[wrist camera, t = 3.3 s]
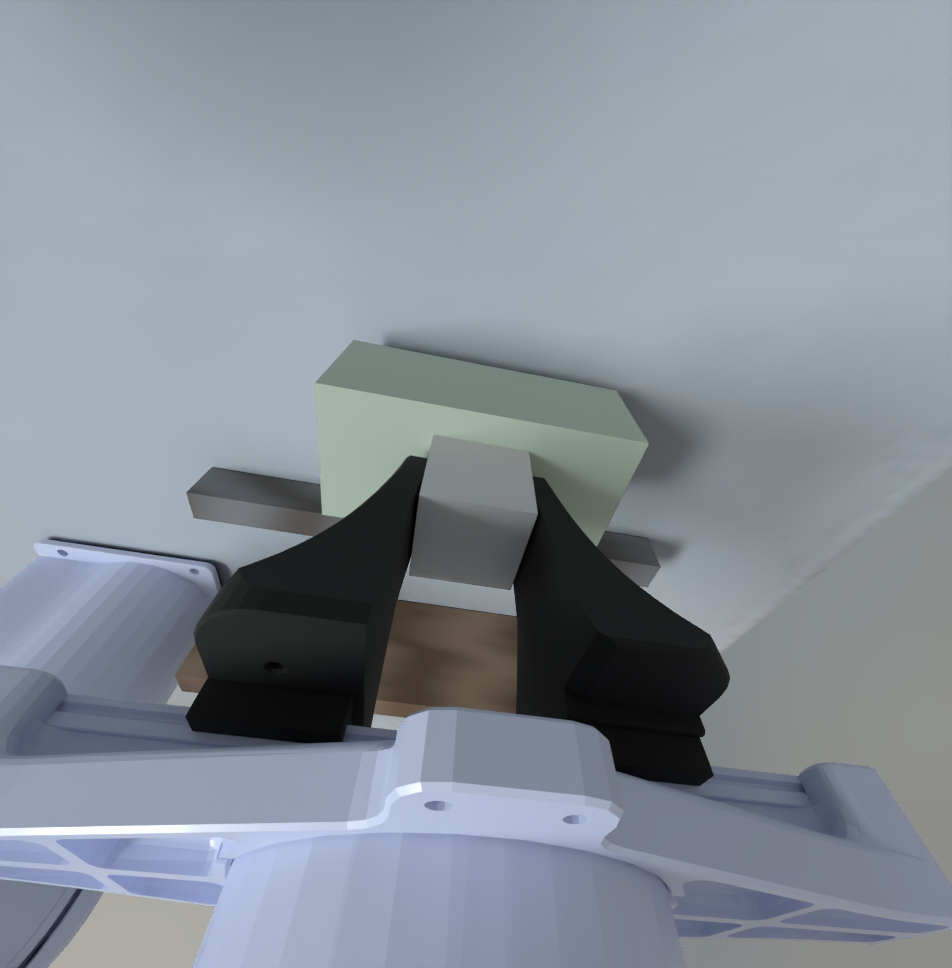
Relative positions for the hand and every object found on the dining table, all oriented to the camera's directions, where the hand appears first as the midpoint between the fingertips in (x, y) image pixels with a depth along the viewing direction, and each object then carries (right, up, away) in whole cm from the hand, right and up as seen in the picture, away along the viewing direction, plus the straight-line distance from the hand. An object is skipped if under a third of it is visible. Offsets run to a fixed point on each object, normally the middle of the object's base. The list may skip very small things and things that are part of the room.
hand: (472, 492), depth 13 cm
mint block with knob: (0, +3, +4) cm, 4 cm away
